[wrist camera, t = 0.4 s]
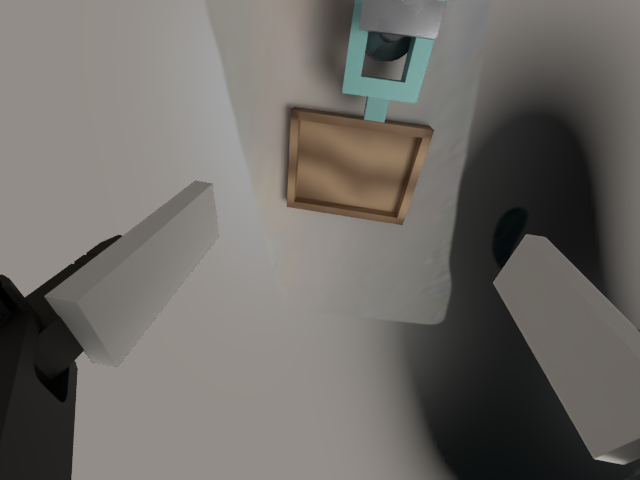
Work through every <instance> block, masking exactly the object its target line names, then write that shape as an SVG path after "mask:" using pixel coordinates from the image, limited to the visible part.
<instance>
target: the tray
mask: <svg viewBox="0 0 640 480" xmlns="http://www.w3.org/2000/svg"><path fill="white" fill-rule="evenodd" d="M433 132H434V130H433V129H432V128H431V127H430V126H423V125H416V124H409V123H402V122H395V121H388V120H385V122H377V121H370V120H364V117H360V116H353V115H346V114H339V113H332V112H325V111H318V110H311V109H304V108H297V107H294V108H293V109H292V110H291V122H290V145H289V168H288V190H287V207H292V208H298V209H305V210H311V211H317V212H323V213H330V214H336V215H342V216H349V217H355V218H361V219H368V220H374V221H380V222H386V223H393V224H399V225H403V222H404V219H405V216H406V213H407V210H408V207H409V204H410V201H411V198H412V195H413V192H414V189H415V186H416V183H417V180H418V177H419V174H420V171H421V168H422V165H423V162H424V159H425V156H426V153H427V150H428V147H429V144H430V141H431V138H432V135H433Z"/></svg>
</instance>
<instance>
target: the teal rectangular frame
mask: <svg viewBox="0 0 640 480" xmlns="http://www.w3.org/2000/svg"><path fill="white" fill-rule="evenodd" d="M441 1H446V0H441ZM362 4H363V0H355V2H354V9H353V17H352V24H351V31H350V38H349V45H348V53H347V60H346V67H345V74H344V82H343V89H342V93H345V94H352V95H360V96H367V100H366V105H365V110H364V120H370V121H377V122H385V118H386V113H387V109H388V105H389V100H395V101H403V102H410V103H417V100H418V96H419V93H420V89H421V86H422V82H423V79H424V75H425V72H426V68H427V65H428V61H429V58H430V54H431V50H432V47H433V43H434V40H435V39H434V40H428V39H421V38H413V37H411V41H410V45H409V49H408V53H407V57H406V62H405V66H404V70H403V74H402V78H401V81H400V80H392V79H385V78H377V77H370V76H363V75H361V73H362V67H363V61H364V55H365V49H366V43H367V37H368V32H366V31H359V24H360V18H361V11H362Z"/></svg>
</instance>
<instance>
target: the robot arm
mask: <svg viewBox="0 0 640 480" xmlns="http://www.w3.org/2000/svg"><path fill="white" fill-rule="evenodd" d="M218 238H219V229H218V221H217V213H216V206H215V199H214V191H213V184H212V183H206V182H199V181H194V182H193V183H191V184H190V185H189V186H188V187H186V188H185V189H184V190H182V191H181V192H180V193H178V194H177V195H176V196H175V197H173V198H172V199H171V200H169V201H168V202H167V203H165V204H164V205H163V206H162V207H160V208H159V209H158V210H156V211H155V212H154V213H152V214H151V215H150V216H148V217H147V218H146V219H145V220H143V221H142V222H141V223H139V224H138V225H137V226H135V227H134V228H133V229H131V230H130V231H129V232H128V233H126V234H125V235H124V236H121V235H117V236H115V237H113V238H110V239H108V240H106V241H103V242H101V243H99V244H98V245H97V246H95V247H94V248H93V249H91V250H90V251H89V252H87V254H86V255H83V256H81V257H80V258H79V259H77V260H76V261H75V263H74V264H71V265H69V266H68V267H66V268H65V269H64V270H62V271H61V272H60V273H58V274H57V275H55V276H54V277H53V278H51V279H50V280H48V281H47V282H46V283H44V284H43V285H42V286H40V287H39V288H37V289H36V290H35V291H34V292H32V293H31V294H29V295H28V296H27V297H25V298H24V296H23V295H22V294H21V293H20V291H19V290H18V289H17V288H16V286H15V285H14V284H13V283H12V281H11V280H10V279H9V278H7V277H6V276H4V275H0V480H71V474H72V456H73V437H74V421H75V402H76V385H77V366H76V362H75V361H74V360H75V359H76V358H77V357H78V356H79V355H80V354H81V353H82V352H83V351H84V352H85V354H86V355H87V356H88V358H89V359H90V360H91V362H93V363H98V364H103V365H108V366H114V367H118V366H119V365H120V364H121V363H122V361H123V360H124V359H125V357H126V356H127V355H128V354H129V352H130V351H131V350H132V348H133V347H134V346H135V344H136V343H137V342H138V341H139V339H140V338H141V337H142V335H143V334H144V333H145V332H146V330H147V329H148V328H149V326H150V325H151V324H152V323H153V321H154V320H155V319H156V317H157V316H158V315H159V313H160V312H161V311H162V310H163V308H164V307H165V306H166V305H167V303H168V302H169V301H170V299H171V298H172V297H173V296H174V294H175V293H176V292H177V290H178V289H179V288H180V287H181V285H182V284H183V283H184V281H185V280H186V279H187V278H188V276H189V275H190V273H191V272H192V271H193V270H194V268H195V267H196V266H197V265H198V263H199V262H200V261H201V260H202V258H203V257H204V255H205V254H206V253H207V252H208V250H209V249H210V248H211V246H212V245H213V244H214V243H215V241H216V240H217V239H218ZM493 284H494V285H495V287H496V289H497V290H498V292H499V294H500V296H501V298H502V299H503V301H504V303H505V305H506V306H507V308H508V309H509V311H510V313H511V315H512V317H513V318H514V320H515V322H516V324H517V326H518V327H519V329H520V331H521V332H522V334H523V336H524V338H525V340H526V341H527V343H528V345H529V347H530V348H531V350H532V352H533V353H534V355H535V357H536V359H537V360H538V362H539V364H540V366H541V367H542V369H543V371H544V373H545V374H546V376H547V378H548V380H549V381H550V383H551V385H552V387H553V388H554V390H555V392H556V394H557V395H558V397H559V399H560V401H561V402H562V404H563V406H564V408H565V409H566V411H567V413H568V415H569V416H570V418H571V420H572V422H573V423H574V425H575V427H576V429H577V430H578V432H579V434H580V436H581V437H582V439H583V441H584V442H585V444H586V446H587V448H588V450H589V451H590V453H591V455H592V457H593V458H594V459H597V460H602V461H607V462H612V463H618V464H623V465H624V464H627V463H629V462H632V461H634V460H637V459H639V458H640V330H638V329H637V328H635V327H634V326H633V325H632V324H631V323H630V322H629V321H628V320H627V319H626V318H625V317H624V316H623V314H621V312H619V310H617V308H615V306H613V304H611V302H609V300H608V299H606V297H604V296H603V294H601V292H600V291H599V290H598V289H597V288H596V287H594V285H593V284H592V283H591V282H589V280H587V278H586V277H585V276H584V275H583V274H582V273H580V272H579V270H578V269H577V268H576V267H575V266H574V265H573V264H572V263H571V262H570V261H569V260H567V258H565V256H564V255H563V254H562V253H561V252H560V251H559V250H558V249H557V248H556V247H555V246H554V245H553V244H552V243H551V242H550V241H549V240H548V239H547V238H545V237H540V236H534V235H528V234H526V236H525V237H524V238H523V240H522V241H521V243H520V244H519V246H518V247H517V249H516V250H515V251H514V253H513V254H512V256H511V257H510V259H509V260H508V262H507V263H506V264H505V266H504V267H503V269H502V270H501V272H500V273H499V275H498V276H497V278H496V279H495V280H494V282H493ZM625 480H640V474H638V475H635V476H633V477H630V478H627V479H625Z"/></svg>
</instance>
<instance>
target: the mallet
mask: <svg viewBox="0 0 640 480" xmlns="http://www.w3.org/2000/svg"><path fill="white" fill-rule="evenodd" d="M446 3H447V1H441V0H363V4H362V11H361V18H360V24H359V31H366V32H368V37H367V43H366V49H365V50H366V51H367V53H368V54H369V55H370V56H371V57H372V58H374V59H375V60H378V61H393V60H396V59H399V58H401V57H402V56H404V55H405V54H406V53H407V52H408V49H409V45H410V41H411V37H413V38H421V39H428V40H434V39H436V38H437V34H438V31H439V27H440V24H441V20H442V17H443V13H444V10H445V6H446Z"/></svg>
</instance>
